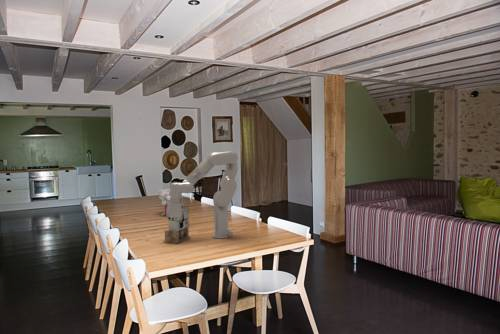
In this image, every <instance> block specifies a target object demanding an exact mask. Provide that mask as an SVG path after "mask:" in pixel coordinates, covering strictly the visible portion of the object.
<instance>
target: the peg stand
mask: <svg viewBox="0 0 500 334" xmlns="http://www.w3.org/2000/svg"><path fill="white" fill-rule="evenodd" d="M189 239H191V236H190V235H189V226H188V227H186V226H185V228H184V229H181V230H179V231H169V229H165V230H164V240H163V244H170V245H171V244H172V245H179V244H181V243H184V242H186V241H188V240H189ZM185 240H186V241H185Z"/></svg>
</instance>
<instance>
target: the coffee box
mask: <svg viewBox="0 0 500 334" xmlns="http://www.w3.org/2000/svg"><path fill="white" fill-rule="evenodd" d="M184 209H185V214H186V216H187V218H186V219H185V226H186V227H188V228H189V226H190V224H189V223H190V222H189V216H190V215H189V206H188V205H184ZM183 218H184V217H183ZM175 219H179V218H174V220H175Z"/></svg>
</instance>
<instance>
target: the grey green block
mask: <svg viewBox="0 0 500 334" xmlns="http://www.w3.org/2000/svg"><path fill="white" fill-rule="evenodd" d="M184 228H185V220H184V222H183V228H180V219H175V218H174V220H172V221H170V220H169V221H168V230H169V231H179V230H181V229H184Z"/></svg>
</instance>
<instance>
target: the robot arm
mask: <svg viewBox="0 0 500 334" xmlns="http://www.w3.org/2000/svg"><path fill="white" fill-rule="evenodd" d="M238 156H239V155H238V153H237V152H235V151H234V150H226V151H221V152H216V151H215V152H212V151H211V152H210V153H208V154H207V155H206V156H205V157H204V159H202V161H200V162H199V164H198V165H197V166H195V168H194V169H193V170H192V171H191V172H190V173H189V174H188V175H187V176H186V177H185V179H183V181H182V182H177V181H176V182H171V183H170V184H169V189H170V201H171V203H170V205H169V213H168V214H167V215H166V216H165V217H166V218H167V219H168V220H169V221H172V220H175V218H179V219H180V228H183V222H184V220H185V219H186V218H187V216H186V214H185V209H184V206H185V205H184V199H183V195H182V194H191V193H192V192H193V191H194V189H195V187H194V185H195V184H197V182H198V181H199V180H201V179H203V178H205V177H206V176H207V175H208V174H209V173H210V171H212V170H213V168H214V167H216V166H223V165H224V166H225V169H224V171H223V172H224V173H223V175H222V177H221V180H220V182H219V186H220V188H221V189H220V190H218V191H216V192H215V193H214V194H213V200H212V203H213V212H214V213H213V217H214V219H213V221H214V223H213V225H214V228H213V229H214V233H213V234H212V238H214V239H227V238H230V237H231V236H233V235H234V231H230V228H229V208H228V207H229V206H230V205H231V202H232V200H233V197H234V196H235V193H236V190H237V181H236V177H237V173H238V170H239V164H238V159H239V157H238ZM183 217H184V218H183Z"/></svg>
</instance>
